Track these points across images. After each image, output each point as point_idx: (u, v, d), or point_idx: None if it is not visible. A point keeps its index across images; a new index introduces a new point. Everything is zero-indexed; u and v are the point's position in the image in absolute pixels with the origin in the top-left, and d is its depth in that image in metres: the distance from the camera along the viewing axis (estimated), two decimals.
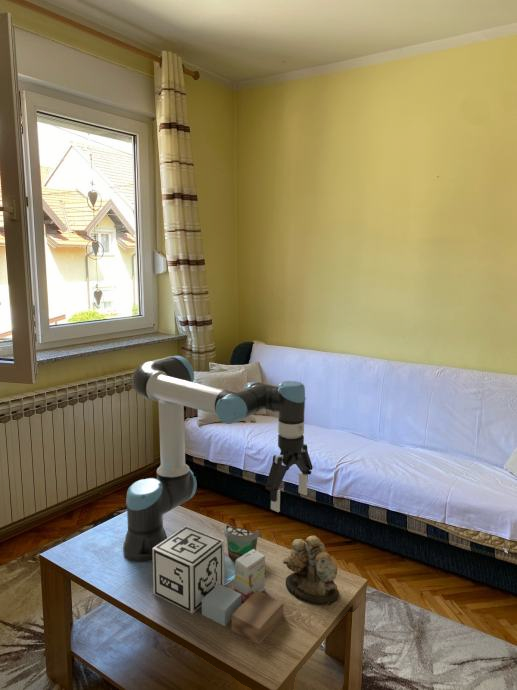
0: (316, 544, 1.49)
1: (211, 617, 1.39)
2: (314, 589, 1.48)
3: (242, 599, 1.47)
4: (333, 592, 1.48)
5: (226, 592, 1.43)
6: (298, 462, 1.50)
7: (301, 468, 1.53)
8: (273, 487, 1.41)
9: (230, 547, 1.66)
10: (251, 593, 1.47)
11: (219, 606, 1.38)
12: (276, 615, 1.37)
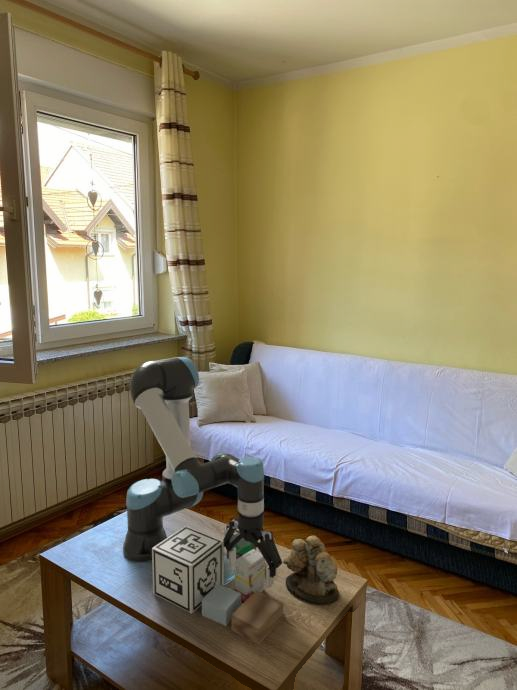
0: (316, 544, 1.49)
1: (212, 617, 1.39)
2: (314, 589, 1.48)
3: (242, 599, 1.47)
4: (333, 592, 1.48)
5: (225, 592, 1.43)
6: None
7: None
8: None
9: None
10: (251, 593, 1.47)
11: (220, 606, 1.38)
12: (276, 615, 1.37)
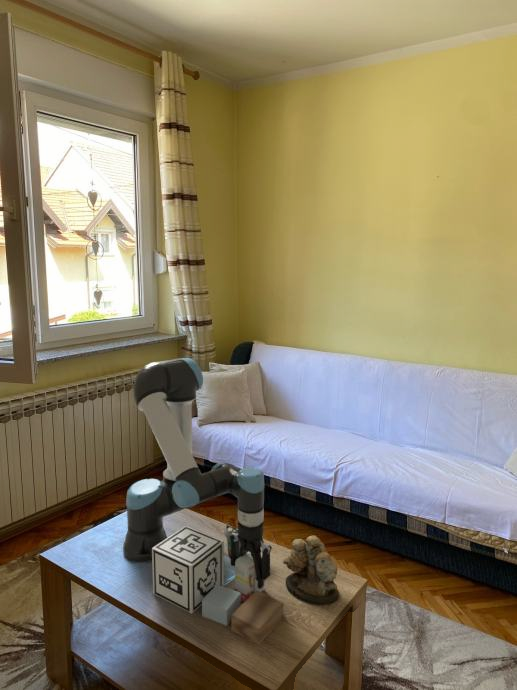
0: (316, 544, 1.49)
1: (212, 618, 1.39)
2: (314, 589, 1.48)
3: (242, 599, 1.47)
4: (333, 592, 1.48)
5: (225, 592, 1.43)
6: None
7: None
8: (232, 562, 1.51)
9: (230, 547, 1.66)
10: (251, 593, 1.47)
11: (221, 606, 1.38)
12: (276, 615, 1.37)
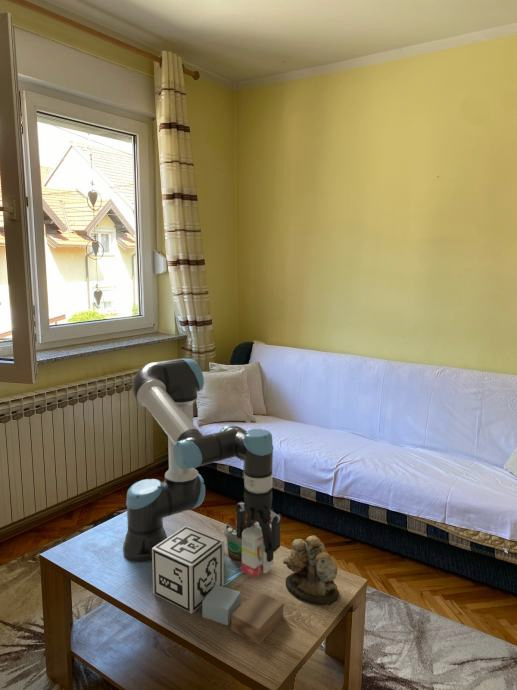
0: (316, 544, 1.49)
1: (213, 618, 1.39)
2: (314, 589, 1.48)
3: (250, 573, 1.34)
4: (333, 592, 1.48)
5: (224, 592, 1.43)
6: None
7: None
8: (238, 534, 1.38)
9: (230, 547, 1.66)
10: (260, 567, 1.35)
11: (221, 606, 1.38)
12: (276, 615, 1.37)
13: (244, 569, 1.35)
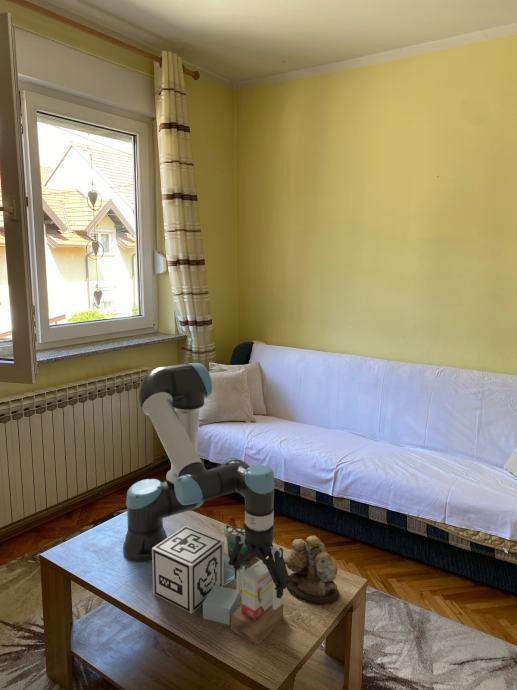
0: (316, 544, 1.49)
1: (214, 619, 1.39)
2: (314, 589, 1.48)
3: (250, 615, 1.34)
4: (333, 592, 1.48)
5: (224, 592, 1.44)
6: None
7: None
8: (230, 561, 1.39)
9: (230, 547, 1.66)
10: (260, 608, 1.34)
11: (223, 606, 1.38)
12: (275, 615, 1.37)
13: (244, 610, 1.35)
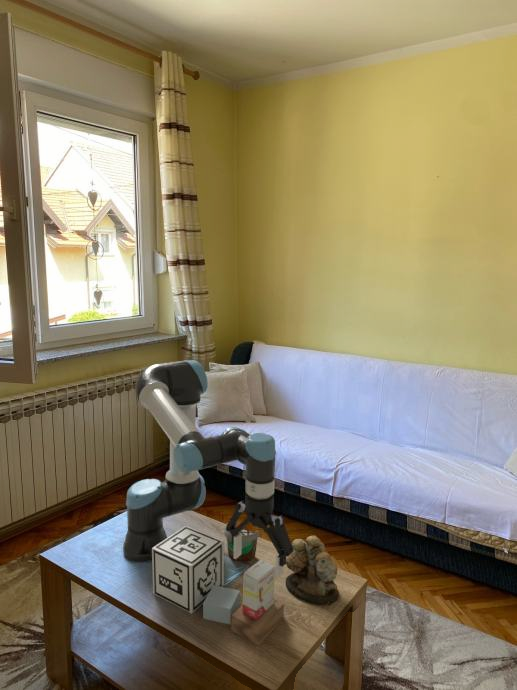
0: (316, 544, 1.49)
1: (214, 619, 1.39)
2: (314, 589, 1.48)
3: (251, 615, 1.33)
4: (333, 592, 1.48)
5: (224, 591, 1.44)
6: None
7: None
8: (227, 527, 1.38)
9: (230, 547, 1.66)
10: (261, 608, 1.34)
11: (223, 606, 1.38)
12: (276, 615, 1.37)
13: (245, 611, 1.35)
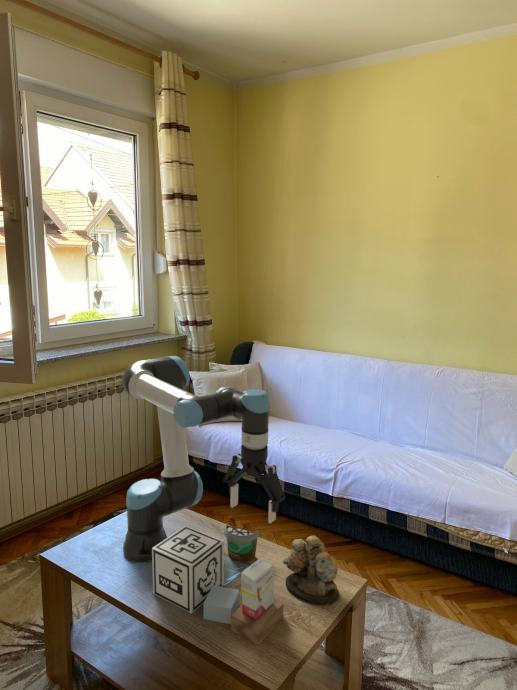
0: (316, 544, 1.49)
1: (215, 619, 1.39)
2: (314, 589, 1.48)
3: (251, 615, 1.33)
4: (333, 592, 1.48)
5: (223, 591, 1.44)
6: None
7: None
8: (225, 478, 1.48)
9: (230, 547, 1.66)
10: (260, 608, 1.34)
11: (224, 606, 1.38)
12: (276, 615, 1.37)
13: (245, 611, 1.35)
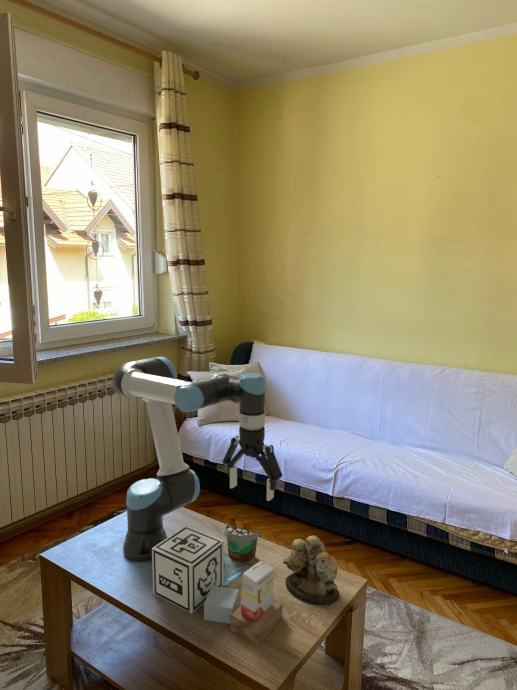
0: (316, 544, 1.49)
1: (216, 619, 1.39)
2: (314, 589, 1.48)
3: (249, 616, 1.33)
4: (333, 592, 1.48)
5: (223, 591, 1.44)
6: None
7: None
8: (224, 460, 1.55)
9: (230, 547, 1.66)
10: (259, 609, 1.34)
11: (225, 606, 1.38)
12: (275, 615, 1.37)
13: (243, 611, 1.34)
